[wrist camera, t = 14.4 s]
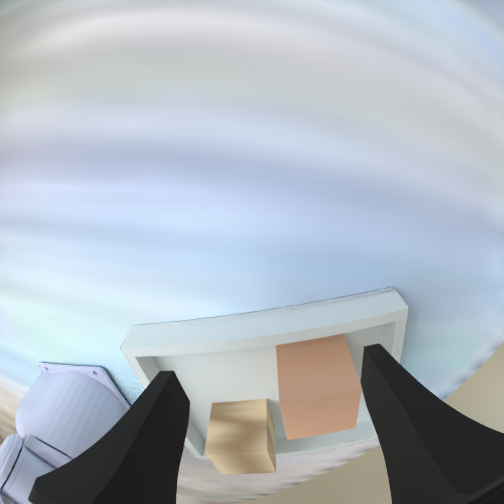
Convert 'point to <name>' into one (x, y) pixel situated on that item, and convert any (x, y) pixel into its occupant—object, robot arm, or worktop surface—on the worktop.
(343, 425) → the terracotta block
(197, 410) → the grey tray
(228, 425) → the oak block
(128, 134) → the worktop surface
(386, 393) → the robot arm
